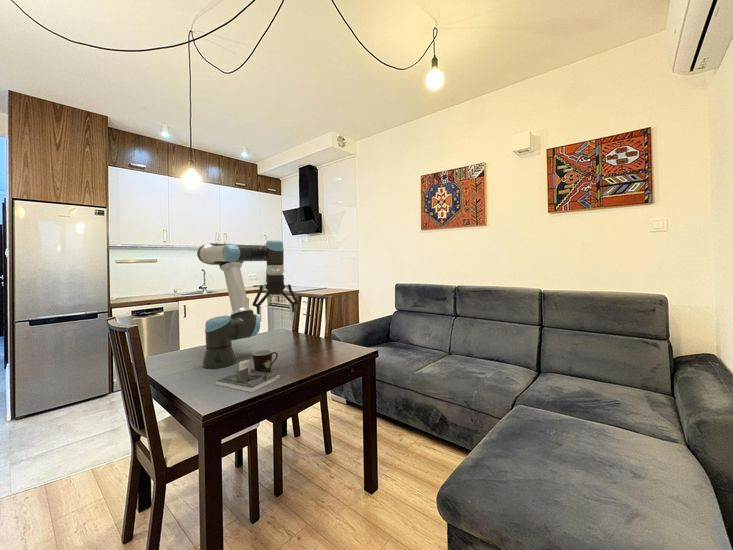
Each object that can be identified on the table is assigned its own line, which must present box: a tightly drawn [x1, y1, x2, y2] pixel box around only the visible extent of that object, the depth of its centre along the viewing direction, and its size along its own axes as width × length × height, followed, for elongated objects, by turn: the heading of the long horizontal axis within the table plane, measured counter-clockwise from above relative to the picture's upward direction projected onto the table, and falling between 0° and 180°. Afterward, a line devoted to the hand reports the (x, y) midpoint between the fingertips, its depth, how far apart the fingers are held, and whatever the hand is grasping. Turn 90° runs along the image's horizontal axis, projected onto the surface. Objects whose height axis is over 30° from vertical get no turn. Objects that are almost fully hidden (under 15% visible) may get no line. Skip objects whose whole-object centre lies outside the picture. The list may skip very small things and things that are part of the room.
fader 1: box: [239, 359, 252, 372], centre depth 139 cm, size 2×4×5 cm, turn 154°
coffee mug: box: [252, 349, 279, 372], centre depth 143 cm, size 12×9×10 cm
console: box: [215, 368, 281, 393], centre depth 133 cm, size 20×16×4 cm
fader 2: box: [235, 367, 249, 382], centre depth 129 cm, size 2×4×5 cm, turn 154°
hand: (276, 320), depth 146 cm, fingers open, 13 cm apart
